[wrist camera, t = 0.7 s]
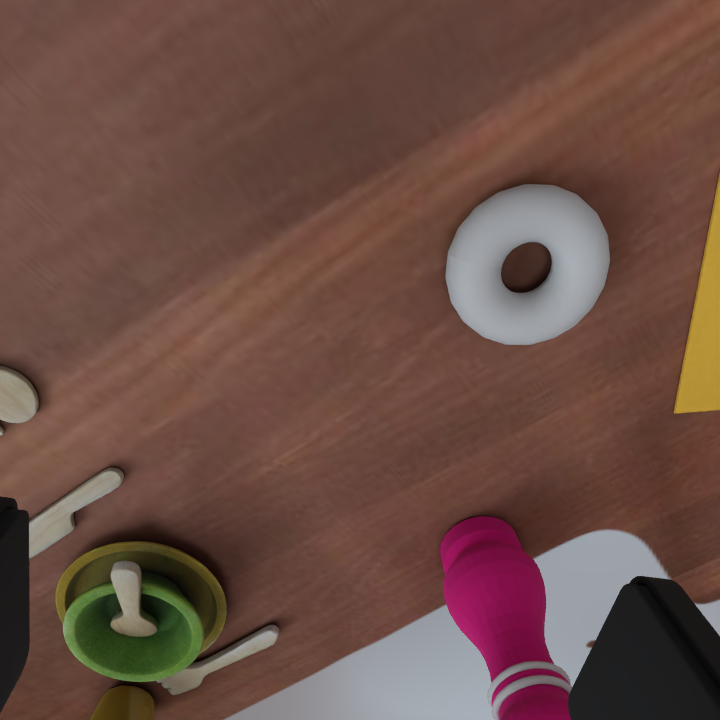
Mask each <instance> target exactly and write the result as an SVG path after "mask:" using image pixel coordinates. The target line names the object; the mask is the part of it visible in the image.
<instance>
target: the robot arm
mask: <svg viewBox="0 0 720 720" xmlns="http://www.w3.org/2000/svg"><path fill="white" fill-rule="evenodd" d="M29 644H30V639H29V514H28V512H27V511H25V510H18V507H17V502H16V500H15V499H13V498H7V497H0V713H1V711H2V709H3V707H4V705H5V703H6V701H7V699H8V698H9V696H10V694H11V692H12V690H13V688H14V686H15V684H16V683H17V681H18V679H19V677H20V675H21V673H22V671H23V668H24V666H25V663H26V660H27V656H28V652H29ZM568 710H569V715H570V718H571V720H720V636H719V635H718V633H717V632H716V631H715V630H714V628H713V627H712V626H711V624H710V623H709V622H708V621H707V620H706V618H705V617H704V616H703V615H702V613H701V612H700V610H699V609H698V608H697V607H696V605H695V604H694V603H693V601H692V600H691V599H690V598H689V596H688V595H687V594H686V592H685V591H684V590H683V589H682V587H681V586H680V585H679V584H678V583H677V582H675V581H672V580H669V579H661V578H652V577H645V576H637V577H635V578H633V579H632V580H631V582H630V583H629V584H626V585H624V586H623V587H622V589H621V590H620V592H619V595H618V597H617V599H616V601H615V603H614V605H613V607H612V609H611V611H610V613H609V615H608V617H607V619H606V621H605V623H604V625H603V627H602V629H601V631H600V633H599V635H598V637H597V639H596V641H595V643H594V645H593V647H592V649H591V651H590V653H589V655H588V657H587V659H586V661H585V663H584V665H583V667H582V669H581V671H580V673H579V675H578V677H577V679H576V681H575V683H574V685H573V687H572V689H571V691H570V694H569V697H568Z"/></svg>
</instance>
